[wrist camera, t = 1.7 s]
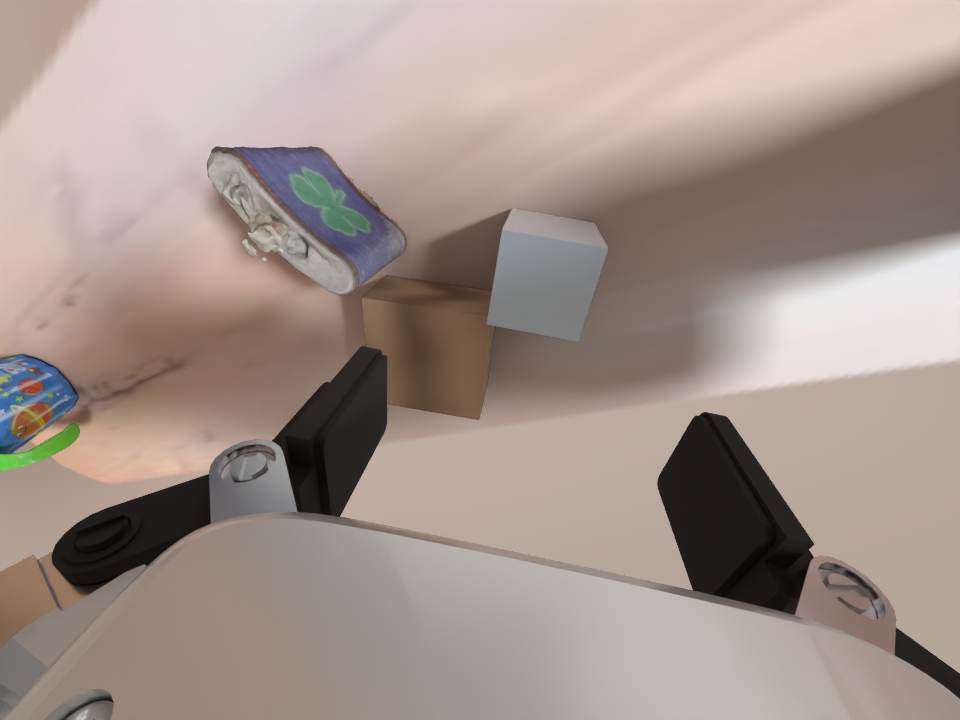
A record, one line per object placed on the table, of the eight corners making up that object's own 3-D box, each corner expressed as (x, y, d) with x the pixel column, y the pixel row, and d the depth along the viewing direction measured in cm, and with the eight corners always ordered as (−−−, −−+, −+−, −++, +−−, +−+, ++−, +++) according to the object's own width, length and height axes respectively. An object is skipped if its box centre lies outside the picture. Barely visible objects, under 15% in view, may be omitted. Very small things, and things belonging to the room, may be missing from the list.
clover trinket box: (414, 240, 27) (348, 291, 18) (390, 265, 29) (318, 325, 20) (314, 135, 25) (178, 133, 16) (293, 168, 26) (156, 185, 17)
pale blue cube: (593, 222, 25) (608, 248, 19) (571, 298, 28) (578, 342, 22) (512, 208, 25) (502, 229, 19) (499, 285, 28) (486, 324, 22)
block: (499, 290, 28) (491, 317, 24) (487, 384, 33) (479, 420, 29) (387, 274, 29) (361, 297, 25) (391, 368, 34) (370, 401, 30)
